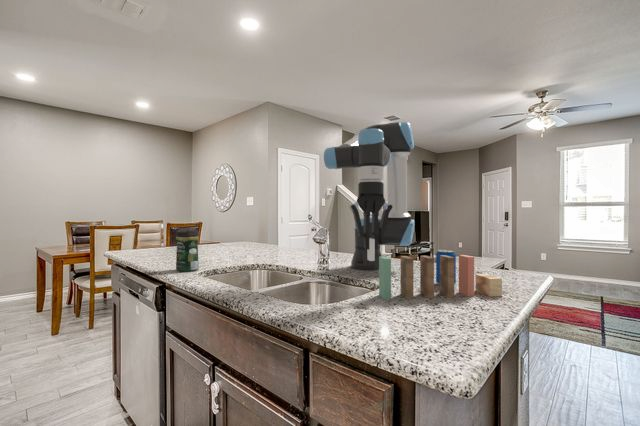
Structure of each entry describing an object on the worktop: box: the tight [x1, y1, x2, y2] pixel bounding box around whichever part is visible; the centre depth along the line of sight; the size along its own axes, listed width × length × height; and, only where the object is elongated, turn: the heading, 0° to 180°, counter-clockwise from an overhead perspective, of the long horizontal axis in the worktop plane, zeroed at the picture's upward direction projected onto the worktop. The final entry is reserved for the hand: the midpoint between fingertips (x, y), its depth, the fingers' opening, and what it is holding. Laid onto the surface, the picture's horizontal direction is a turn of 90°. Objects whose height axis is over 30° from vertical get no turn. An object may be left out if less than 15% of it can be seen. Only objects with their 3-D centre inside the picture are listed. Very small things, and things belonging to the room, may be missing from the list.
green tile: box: [378, 255, 392, 301], centre depth 94 cm, size 5×2×12 cm, turn 7°
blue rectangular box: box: [435, 249, 457, 286], centre depth 111 cm, size 6×6×12 cm
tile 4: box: [439, 255, 455, 298], centre depth 97 cm, size 5×2×12 cm, turn 7°
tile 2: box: [400, 255, 414, 300], centre depth 95 cm, size 5×2×12 cm, turn 7°
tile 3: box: [419, 255, 435, 299], centre depth 96 cm, size 5×2×12 cm, turn 7°
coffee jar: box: [175, 227, 200, 273], centre depth 138 cm, size 10×8×19 cm
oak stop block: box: [475, 273, 503, 297], centre depth 99 cm, size 7×4×5 cm, turn 7°
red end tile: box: [458, 254, 475, 297], centre depth 98 cm, size 5×2×12 cm, turn 7°
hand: (370, 260), depth 94 cm, fingers closed
